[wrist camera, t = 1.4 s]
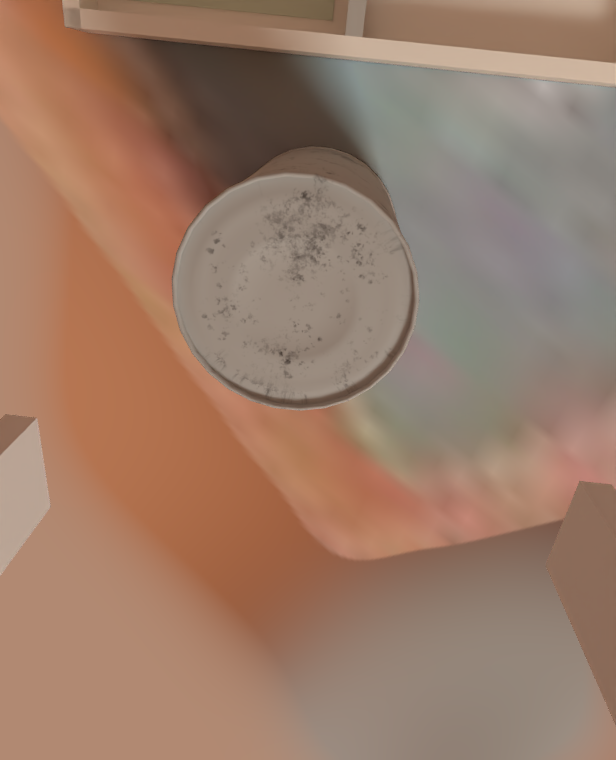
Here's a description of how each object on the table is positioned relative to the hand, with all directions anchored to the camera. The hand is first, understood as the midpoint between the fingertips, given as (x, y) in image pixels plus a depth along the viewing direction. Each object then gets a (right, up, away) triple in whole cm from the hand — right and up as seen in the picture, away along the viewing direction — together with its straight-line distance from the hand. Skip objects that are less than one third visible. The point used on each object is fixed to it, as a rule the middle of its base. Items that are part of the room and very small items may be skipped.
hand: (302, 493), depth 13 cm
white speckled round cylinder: (+1, +11, +19) cm, 22 cm away
